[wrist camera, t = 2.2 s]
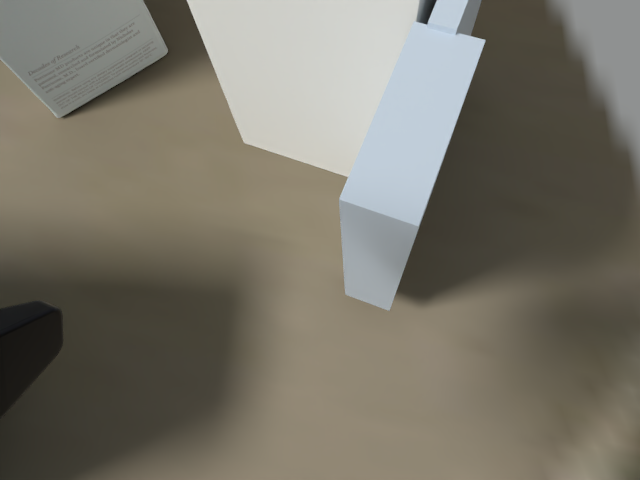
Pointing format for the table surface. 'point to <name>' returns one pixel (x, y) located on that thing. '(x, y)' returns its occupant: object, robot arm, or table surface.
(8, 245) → the table surface
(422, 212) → the camera side door
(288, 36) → the large white box
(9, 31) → the supplement box
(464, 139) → the table surface
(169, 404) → the table surface
